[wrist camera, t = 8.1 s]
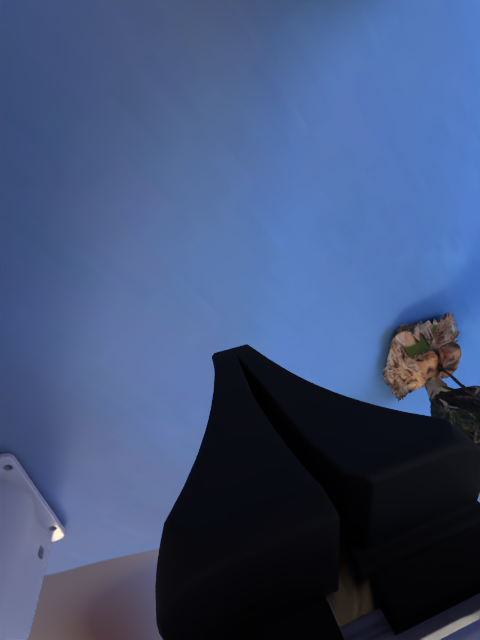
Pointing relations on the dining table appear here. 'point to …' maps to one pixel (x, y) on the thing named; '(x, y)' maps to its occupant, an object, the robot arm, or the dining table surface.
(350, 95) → the dining table surface
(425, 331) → the plant with pod
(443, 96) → the dining table surface
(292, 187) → the dining table surface
